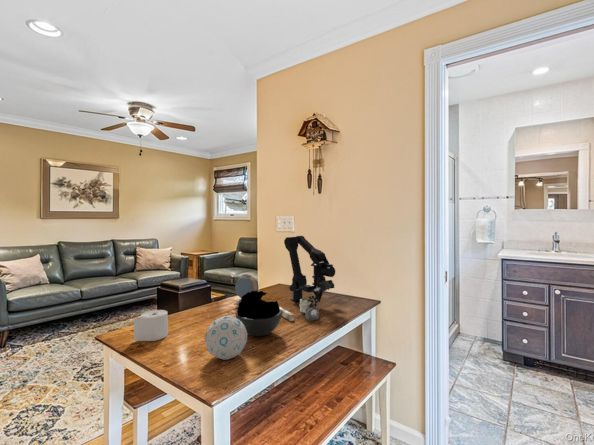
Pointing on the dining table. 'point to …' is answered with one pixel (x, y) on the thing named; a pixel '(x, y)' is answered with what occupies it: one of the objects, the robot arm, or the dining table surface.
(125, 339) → the dining table surface
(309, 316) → the pipe stand
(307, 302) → the valve
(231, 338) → the puzzle ball
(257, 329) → the bowl of black rocks
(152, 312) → the toilet tissue
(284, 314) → the fence
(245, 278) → the alarm clock
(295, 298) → the robot arm
